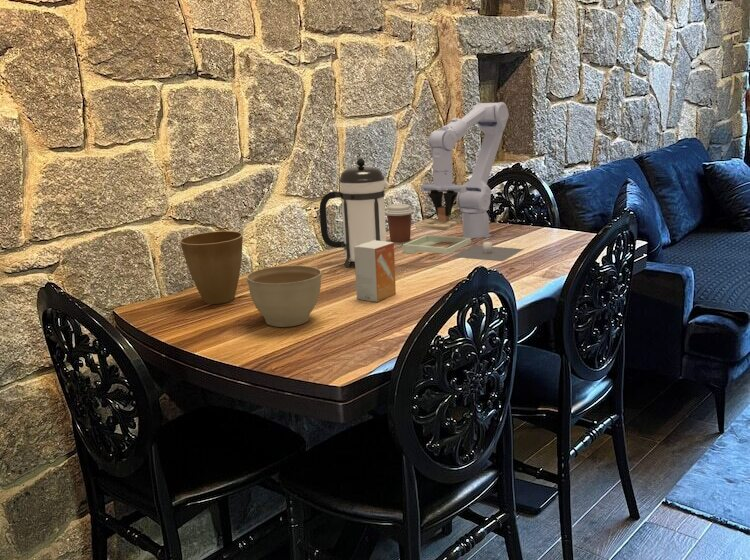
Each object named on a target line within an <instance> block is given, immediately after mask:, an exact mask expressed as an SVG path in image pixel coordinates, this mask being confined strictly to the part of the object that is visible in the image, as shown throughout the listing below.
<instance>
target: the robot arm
mask: <svg viewBox="0 0 750 560" xmlns="http://www.w3.org/2000/svg"><path fill="white" fill-rule="evenodd" d="M509 116H510V115H509V110H508V106H507V103H505V102H503V101H500V102H478V103H476V104H475V105H473V106H472V109H471V110H470V111H468V113H467V114H465V115H464V116H463V117H462V118H456V117H455V118H453V117H452V119H451V120H450V122H449V123H447V124H446V125H443V126H442V127H441V128H440V129H439V130H434V131H432V132H431V133H430V135H429V137H428V140H427V145H428V146H429V149H430V154H431V155H432V169H433V170H432V173H433V174H432V175H433V177H432V178H433V183H432V184H429V183H428V184H427V183H426V184H425V183H423V184H420V192H429V193H428V196H429V198H430V200H431V202H432V203H433V204H432V205H433V206H434V209H435V213H436V216H437V217H438V207H441V206H443V200H444V204H445V205H444V206H445V212H446V216H449V217H450V216H452V209H453V206H454V203H455V201H456V205H457V207H458V208H459V210H460V211H459V212H462V213H461V216H462V218H461V219H462V221H461V222H462V223H461V224H462V225H461V226H462V237H463V238H471V239H480V238H491V237H492V234H490V218H489V217H490V216H489V214H488V213H487V212H488V209H489V207H490V205H491V196H492V190H491V187H489V185H488V181H489V179H490V175H491V173H492V169H493V167H494V166H493V165H494V162H495V159H496V156H497V153H498V150H499V147H500V143H501V141H502V137H503V133H504V131H505V129H506V126H507V122H508V119H509ZM474 125H477V126H478V128H479V130H480V132H481V133H484V134H483V135H484V136H483V140H482V143H481V146H480V149H479V152H478V156H477V158H476V162H475V165H474V168H473V171H472V174H471V176H470V179H469V180H468V181H466V182H465V183H463V184H453V152H452V151H453V150H454V149H455V147H456V143H457V142H458V141H459V140H460V139H461V138H463V137H464V136H466V135H467V133H468V131H469V130H468V129H469V128H471V127H472V126H474Z"/></svg>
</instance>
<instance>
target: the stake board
mask: <svg viewBox="0 0 750 560" xmlns="http://www.w3.org/2000/svg"><path fill="white" fill-rule="evenodd" d="M521 251H524V248H514V247H503V246H502V247H501V246H493V242H491V241H483V245H475V244H474V245H471V246H470V247H467V248H464V249H463V250H461V251H459V252H457V253H455V254H453V255H451V256H450V258H458V259H459V258H461V259H473V260H483V261H494V262H504V261H506V260H508V259H510V258H511V257H513V256H515V255H517V254H518V253H520V252H521Z"/></svg>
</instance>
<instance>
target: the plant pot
mask: <svg viewBox="0 0 750 560" xmlns="http://www.w3.org/2000/svg"><path fill="white" fill-rule="evenodd" d="M243 241H244V240H243V233H242V232H240V231H234V230H218V231H208V232H206V231H205V232H201V233H195V234H192V235H191V234H190V235H188V236H185V237H183V238H181V239H180V240H179V244H180V246H181V251H182V253H183V257H184V260H185V263H186V265H187V269H188V271H189V273H190V276H191V278H192V280H193V283H194V285H195V287H196V289H197V292H198V293H199V295H200V296H201V298H202V300H203V302H204V303H205V304H206V305H207V304H208V305H219V304H226V303H229V302H232V301H233V300H234V299H235V297H236V292H237V289H238V285H239V280H240V274H241V269H242V266H241V265H242V259H243V258H242V257H243Z"/></svg>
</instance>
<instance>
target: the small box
mask: <svg viewBox="0 0 750 560" xmlns="http://www.w3.org/2000/svg"><path fill="white" fill-rule="evenodd" d="M354 255H355V263H354V268H355V269H354V271H355V289H356V291H355V293H356V299H357V300H362V301H368V302H374V303H375V302H376V303H378V302H381V301H383V300H385V299H386V298H389V297H391V296H394V295H396V294H397V292H396V291H397V290H396V288H397V287H396V268H395V267H396V266H395V265H396V264H395V263H396V262H395V261H396V260H395V244H394V242H390V241H387V240H386V241H376V240H373V241H370V242H367V243H363V244H361V245H358V246H355V247H354Z"/></svg>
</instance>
